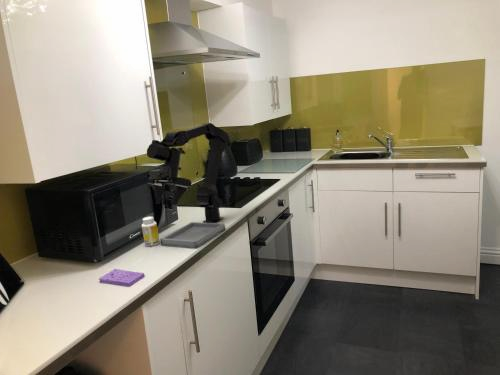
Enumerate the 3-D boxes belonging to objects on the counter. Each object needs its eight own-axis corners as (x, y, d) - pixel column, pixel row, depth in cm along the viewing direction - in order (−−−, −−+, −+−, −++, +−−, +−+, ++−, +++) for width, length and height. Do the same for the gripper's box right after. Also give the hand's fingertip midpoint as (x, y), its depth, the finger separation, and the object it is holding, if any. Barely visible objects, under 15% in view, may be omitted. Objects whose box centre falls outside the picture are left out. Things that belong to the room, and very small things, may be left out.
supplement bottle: (160, 240, 159) (156, 215, 157) (159, 245, 154) (154, 219, 152) (146, 242, 159) (141, 217, 157) (144, 247, 153) (139, 221, 151)
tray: (192, 227, 170) (191, 222, 170) (225, 229, 163) (224, 223, 162) (161, 245, 153) (160, 239, 153) (196, 248, 145) (195, 241, 145)
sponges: (115, 273, 133) (114, 268, 132) (145, 277, 127) (144, 272, 127) (99, 283, 127) (98, 278, 126) (130, 288, 121) (128, 282, 121)
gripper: (139, 159, 156) (133, 200, 155) (172, 159, 145) (166, 203, 143) (161, 165, 165) (156, 203, 163) (194, 165, 154) (189, 206, 152)
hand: (166, 204), depth 155 cm, fingers open, 9 cm apart
